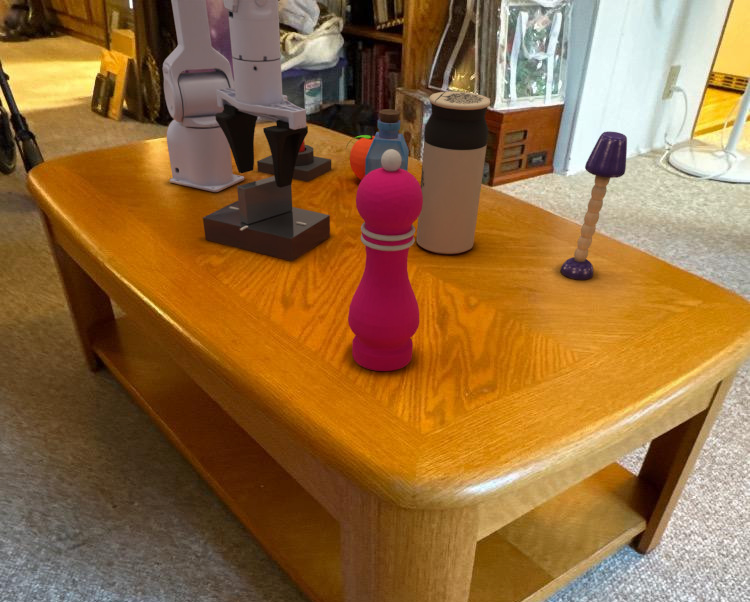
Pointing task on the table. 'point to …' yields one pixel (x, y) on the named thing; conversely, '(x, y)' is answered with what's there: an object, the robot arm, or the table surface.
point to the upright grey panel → (263, 200)
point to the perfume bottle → (387, 141)
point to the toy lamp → (597, 197)
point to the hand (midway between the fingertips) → (264, 178)
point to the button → (302, 147)
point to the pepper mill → (386, 267)
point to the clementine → (360, 155)
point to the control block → (300, 165)
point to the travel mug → (452, 171)
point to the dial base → (269, 231)
